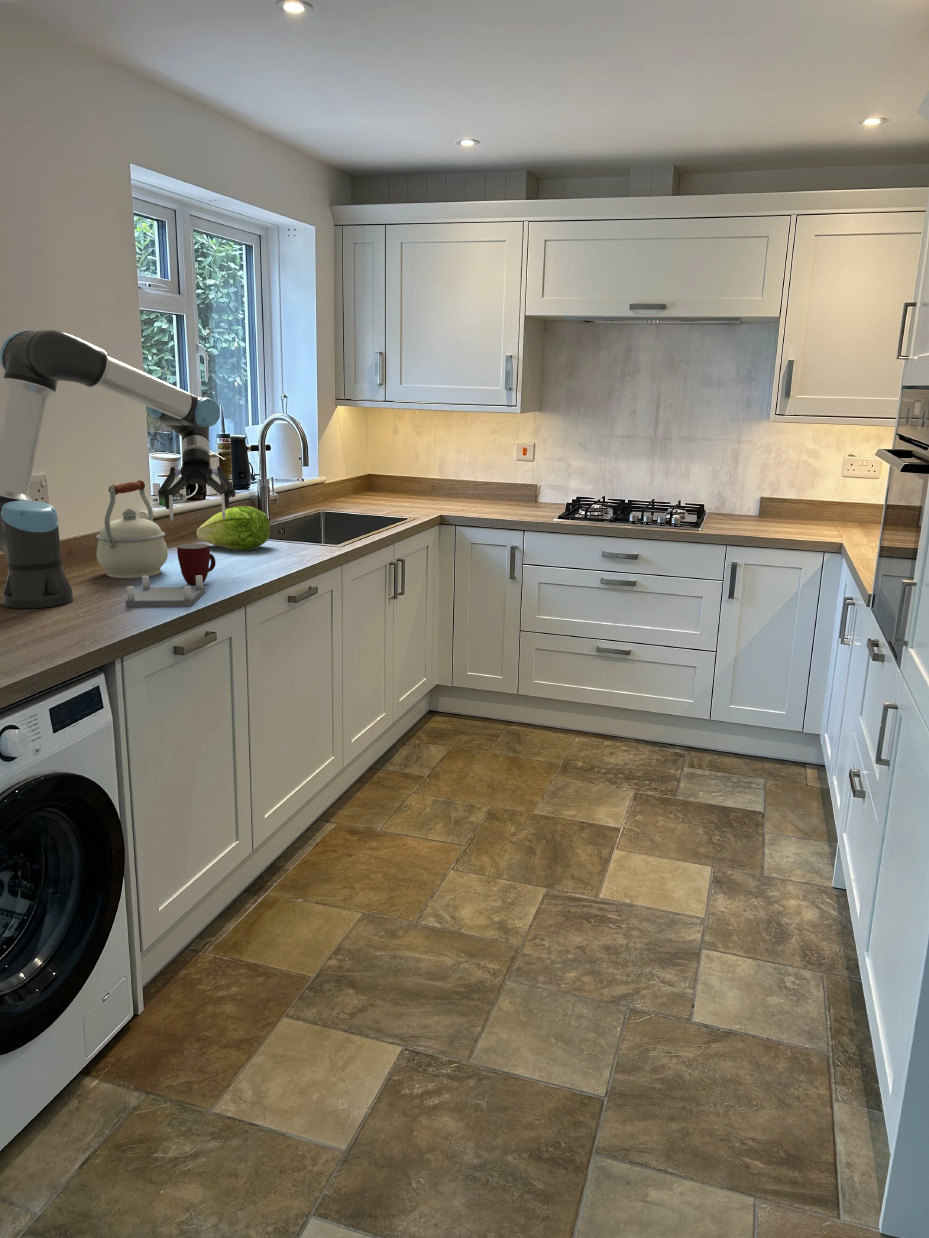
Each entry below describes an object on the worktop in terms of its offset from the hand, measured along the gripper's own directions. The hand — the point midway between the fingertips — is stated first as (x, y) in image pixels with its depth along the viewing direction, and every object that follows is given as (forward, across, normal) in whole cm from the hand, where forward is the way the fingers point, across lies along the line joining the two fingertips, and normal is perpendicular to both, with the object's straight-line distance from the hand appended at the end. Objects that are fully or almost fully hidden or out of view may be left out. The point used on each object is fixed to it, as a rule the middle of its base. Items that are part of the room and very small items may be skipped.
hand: (197, 516), depth 249 cm
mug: (+19, 0, -4) cm, 20 cm away
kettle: (+6, +17, -16) cm, 25 cm away
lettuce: (-20, -8, -43) cm, 48 cm away
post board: (+32, +7, +10) cm, 34 cm away
